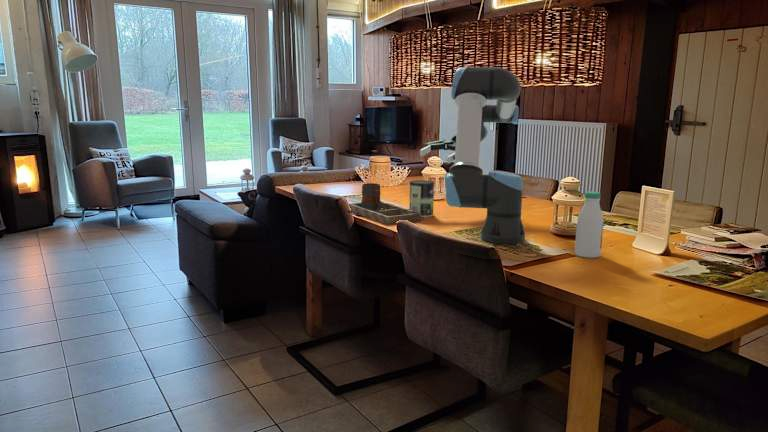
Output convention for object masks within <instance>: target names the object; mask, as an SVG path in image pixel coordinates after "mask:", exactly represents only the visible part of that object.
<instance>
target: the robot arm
mask: <svg viewBox="0 0 768 432" xmlns="http://www.w3.org/2000/svg"><path fill="white" fill-rule="evenodd" d="M521 88H522V87H521V82H520V80H519V79H518V77H517V76H516V75H515V74H514V73H513V72H511V71H509V70H508V69H505V68H502V67H498V66H495V67H492V66H491V67H490V66H489V67H488V66H485V67H483V66H482V67H474V66H473V67H470V66H466V67H463V66H462V67H458V68H457V69H455V72H454V75H453V79H452V87H451V99H452V100H454V104H455V105H456V106H457V107H458V111H457V124H456V135H453V137H452V138H451V139H450V140H448V141H446V139H445V138H442V139H440V140H435V141H429V142H426V143H425V145H424V146H425V147H423V148H421V149H420V150H419V156H420V157H424V156H425V155H427V154H430V152H431V151H438V150H440V151H441V150H444V151H448V150H449V151H452V152H453V151H454V152H453V153H452V154H450V155H447V157H446V163H447V164H450V163H452V162H454V164H453V165H451V166H450V167H449V171H448V172H447V173H444V186H445V187H444V188H445V197H446V198H445V199H446V203H447V205H448V206H449V207H452V208H453V207H454V208H460V209H461V208H468V209H469V208H471V209H486V217H485V220H484V223H483V224H482V228H481V230H480V239H481V240H483V241H484V242H485V241H486V242H488V243H494V244H501V245H504V244H505V245H506V244H507V245H512V244H513V245H514V244H520V243H524V242H525V240H526V232H525V228H524V225H523V221H522V209H523V208H522V207H523V192H524V180H523V177H521V175H518V174H517V173H512V172H508V171H502V170H489V171H488V174H483V173H484V171H483V168H482V167H481V166H480V165H479V164H480V151H481V147H480V146H481V142H482V141H484V140H485V139H486V138H487V136H488V129H487V127H486V125H485V123H496V124H497V123H500V124H503V123H505V124H513V123H518V121H519V113H520V112H519V111H520V110H519V109H520V108H519V106H518V105H516V103H517V99H518V98H519V96H520V95H521V90H522V89H521ZM490 100H491V101H492V100H495V101H496V104H487V102H488V101H490Z"/></svg>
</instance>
